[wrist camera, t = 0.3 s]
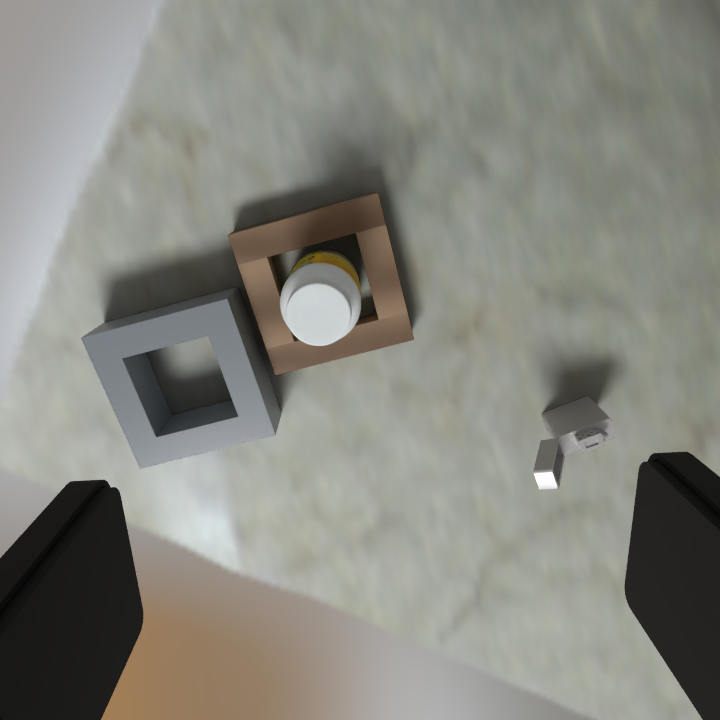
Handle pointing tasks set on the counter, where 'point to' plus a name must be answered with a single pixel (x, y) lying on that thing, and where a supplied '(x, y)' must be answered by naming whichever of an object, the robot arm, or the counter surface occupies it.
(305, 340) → the supplement bottle
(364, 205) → the shallow holder
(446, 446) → the counter surface
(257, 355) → the socket block
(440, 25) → the counter surface
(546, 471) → the silver flip-top case
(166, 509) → the counter surface
